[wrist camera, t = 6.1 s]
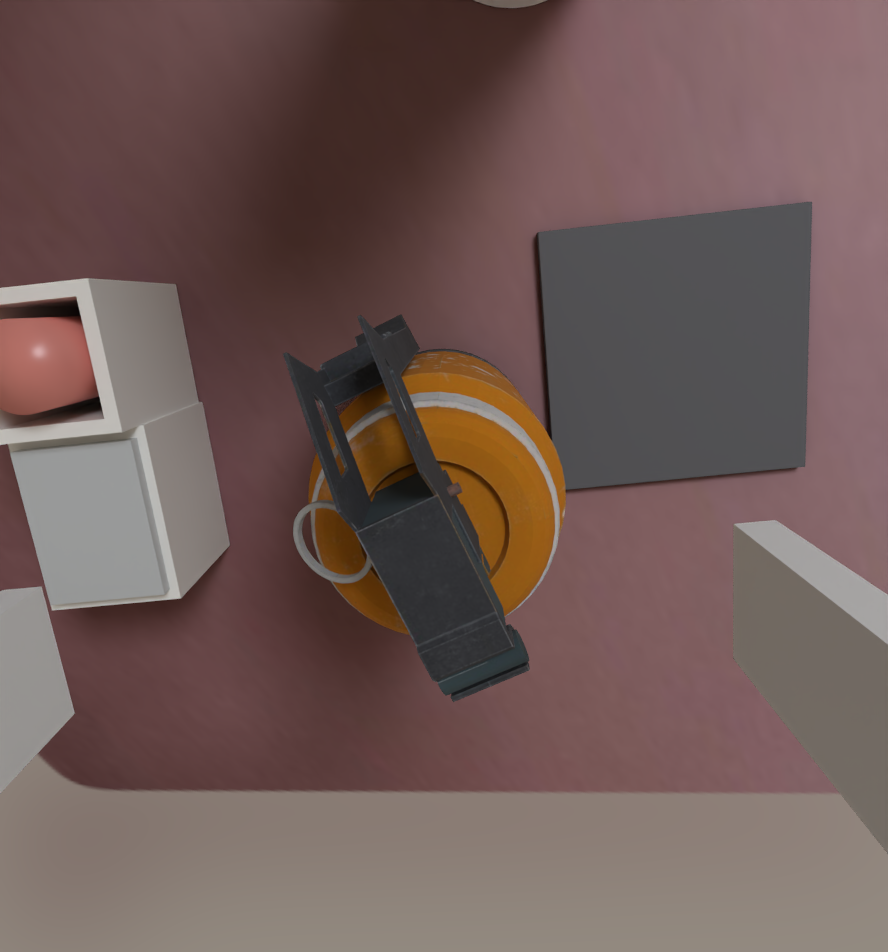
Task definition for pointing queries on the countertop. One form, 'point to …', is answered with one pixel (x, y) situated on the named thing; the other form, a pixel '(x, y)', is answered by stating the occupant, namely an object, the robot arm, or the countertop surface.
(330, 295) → the countertop surface
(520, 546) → the canister
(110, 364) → the white rectangular box
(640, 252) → the drip mat
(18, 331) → the salmon pink capsule
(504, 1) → the cylinder container
